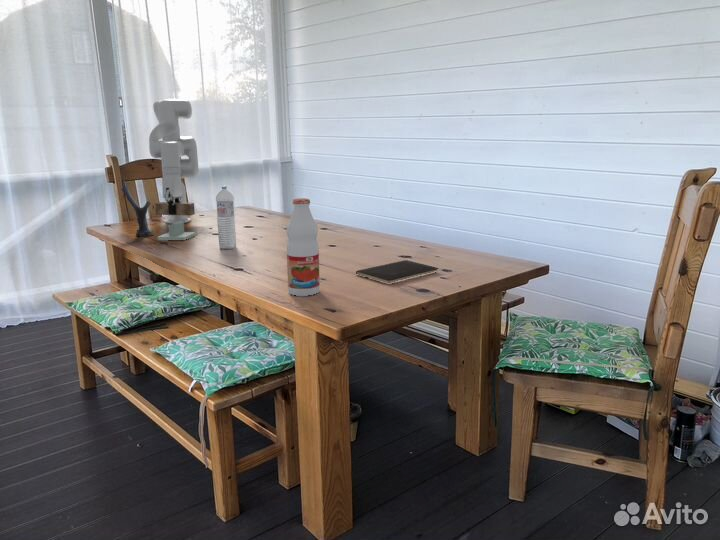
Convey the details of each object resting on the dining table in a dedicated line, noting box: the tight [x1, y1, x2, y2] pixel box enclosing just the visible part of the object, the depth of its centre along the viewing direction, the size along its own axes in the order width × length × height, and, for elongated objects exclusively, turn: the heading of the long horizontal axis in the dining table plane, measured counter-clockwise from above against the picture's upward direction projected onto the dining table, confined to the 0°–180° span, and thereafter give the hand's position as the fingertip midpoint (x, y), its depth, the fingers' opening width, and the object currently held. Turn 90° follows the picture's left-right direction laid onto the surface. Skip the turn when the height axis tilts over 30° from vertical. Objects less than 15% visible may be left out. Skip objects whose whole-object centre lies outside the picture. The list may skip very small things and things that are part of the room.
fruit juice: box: [286, 198, 321, 297], centre depth 170 cm, size 9×9×28 cm
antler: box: [120, 180, 154, 238], centre depth 257 cm, size 12×8×25 cm
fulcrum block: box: [157, 221, 197, 241], centre depth 255 cm, size 12×12×6 cm
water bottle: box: [215, 185, 237, 250], centre depth 232 cm, size 7×7×25 cm
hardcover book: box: [355, 259, 439, 283], centre depth 194 cm, size 16×23×2 cm
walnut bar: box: [154, 201, 196, 216], centre depth 253 cm, size 16×4×5 cm, turn 82°
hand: (175, 213), depth 253 cm, fingers closed on walnut bar, 4 cm apart
